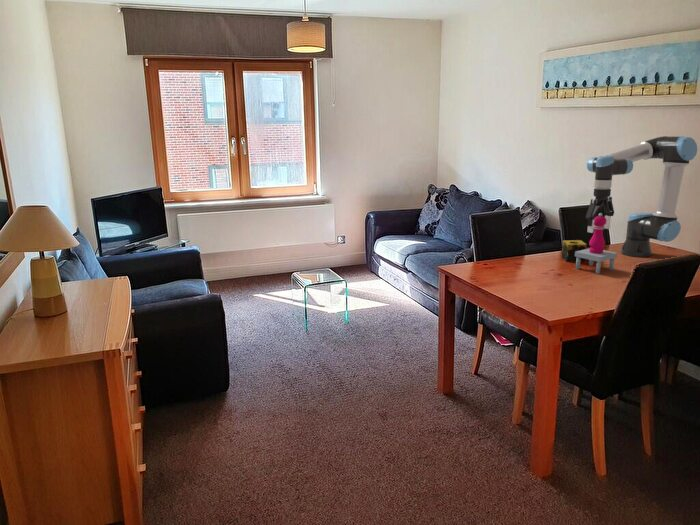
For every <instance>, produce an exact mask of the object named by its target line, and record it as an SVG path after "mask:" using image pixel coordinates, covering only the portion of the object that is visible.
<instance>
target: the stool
mask: <svg viewBox="0 0 700 525" xmlns="http://www.w3.org/2000/svg"><path fill="white" fill-rule="evenodd" d="M590 248H591V247H589V248H586V249H585V250H580V251H576V252H575V256H576V257H577V258H576V262H575V269H576V270H580V269H581V262H580V261H581V258H585V260H589V261H588V266H591V267H593V266H594V262H596V265H595V266H596V267H595V275H600V274H601V265H602V262H605V261H608V260H609V265H608V270H609V271H614V269H615V268H614V266H615V259H616V258H618V252H614V251H609V250H604V249H603V253H591V252H590V251H589V250H590Z"/></svg>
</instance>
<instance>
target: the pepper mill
mask: <svg viewBox="0 0 700 525" xmlns="http://www.w3.org/2000/svg"><path fill="white" fill-rule="evenodd" d="M593 220H594V229H593V233H592V234H593V235H592V237H591V238H590V240H589V242H588V245H589V248H590V250H589V251H590V252H591V253H603V250H604V249H603V248H604V247H605V245H606V241H605V239H604V238H605V237H604V230H605V228H604V227H605V226H604V225H605V224H606V218H605V216H603V213H602V212H600V213H598V215H596V216H595V217H594V219H593Z"/></svg>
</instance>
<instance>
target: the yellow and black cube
mask: <svg viewBox="0 0 700 525" xmlns="http://www.w3.org/2000/svg"><path fill="white" fill-rule="evenodd" d="M561 244H562V245H561V246H562V247H561V248H562V249H561V258H562V259H563V260H564V261H565V262H566V263H567V262H568V263H576V258H577V257H576V256H575V252H576V251H580V250H585V249H587V243H586V242H584V241H583V240H581V239H576V240H575V239H573V240H572V239H571V240H565V239H564V240H562V243H561ZM584 262H586V259H585V258H581V261H580V263H584Z"/></svg>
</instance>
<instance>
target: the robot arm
mask: <svg viewBox="0 0 700 525" xmlns="http://www.w3.org/2000/svg"><path fill="white" fill-rule="evenodd" d="M697 152H698V145H697V142H696V140H695V139H694V138H692V137H689V136H684V135H682V136H658V137H655V138H651V139H647V140H645V141H642V142H640V143H638V145H636V146H633V147H629V148H626V149H622V150H620V151H617V152H613V153H610V154H607V155H601V156H597V157H590V158H589V159H588V160H587V162H586V169H587V170H588V172H592V173H595V174H594V175H595V176H594V186H593V187H594V188H593V196H594V197H595V198H593V199H592V198H591V199H590V202H589V206H588V209H587V212H586V215H585V217H584V219H586V220H587V228H586V229H587V233H591V234H594V218H595V217H596V216H597V213H598V211H599V210H600V209H601V208H602V209H603V211H604V213H605V215H604V217H605V218H606V224H605V225H604V226H605V227H604V230H605V229H606V230H610V228H611V220H612V219H611V218H612V217H613V216H614V214H615V211H614V210H615V209H614V206H613V205H614V204H613V197H612V196H611V191H612V189H611V188H612V181H613V176H619V175H620V176H621V175H623V176H624V175H627V174H631V172H632V171H633V168H634V162H636V161H640V160H641V161H642V160H651V159H660V160H662V164H663V165H664V171H663V176H662V181H661V186H660V191H659V196H658V201H657V205H656V211H655V212H653V213H651V212H640V213H639V212H637V213H636V212H635V213H631V214H629V216H628V219H627V226H626V235H625V236H626V237H625V241H624V243H623V245H622V247H621V249H620V253H621V254H622V255H624V254H625V255H624V256H629V257H634V258H635V257H638V258H643V257H644V258H645V257H647V258H648V257H651V256H652V253H653V251H652V247H651V246H652V245H651V242H650V240H655V241H660V242H665V243H666V242H667V243H668V242H669V243H670V242H672V241H674V240H675V239H676V238H677V237H678V236H679V235H680V233H681V228H682V226H681V222H680V221H678V216H677V214H676V210H677V204H678V200H679V195H680V191H681V186H682V181H683V176H684V170H685V167H687V166H688V165H689V164H690V161H692V160H694V159H695V157H696V156H697Z"/></svg>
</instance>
